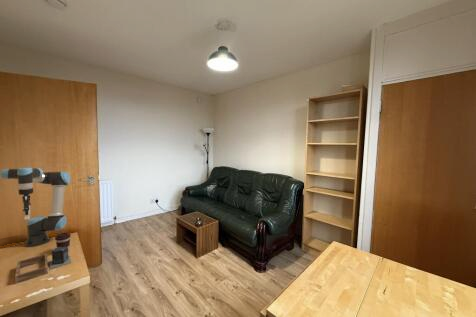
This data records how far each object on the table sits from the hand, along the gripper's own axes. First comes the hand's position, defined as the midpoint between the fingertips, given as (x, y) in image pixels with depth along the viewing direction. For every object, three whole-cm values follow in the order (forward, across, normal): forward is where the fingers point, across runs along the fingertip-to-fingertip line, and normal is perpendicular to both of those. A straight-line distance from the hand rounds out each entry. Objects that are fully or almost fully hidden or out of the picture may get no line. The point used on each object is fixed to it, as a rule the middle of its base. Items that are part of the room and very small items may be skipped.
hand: (27, 216), depth 152 cm
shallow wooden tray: (+36, +14, +2) cm, 39 cm away
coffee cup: (+37, -5, +20) cm, 42 cm away
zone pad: (+37, +14, +16) cm, 43 cm away
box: (+36, +14, +17) cm, 42 cm away
